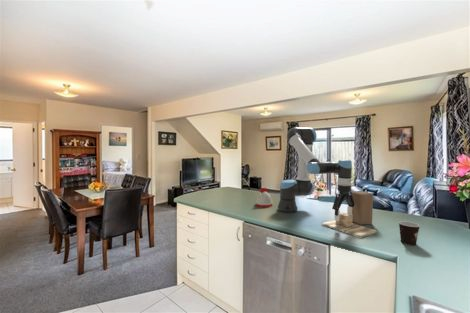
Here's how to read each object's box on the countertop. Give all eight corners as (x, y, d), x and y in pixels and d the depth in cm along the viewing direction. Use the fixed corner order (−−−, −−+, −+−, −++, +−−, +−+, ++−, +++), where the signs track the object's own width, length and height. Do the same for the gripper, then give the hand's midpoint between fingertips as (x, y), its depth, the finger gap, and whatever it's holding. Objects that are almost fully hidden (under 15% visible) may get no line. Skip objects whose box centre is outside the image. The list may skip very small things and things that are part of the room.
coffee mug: (409, 239, 126) (410, 221, 126) (423, 246, 118) (424, 226, 117) (388, 239, 126) (389, 221, 125) (400, 246, 117) (401, 227, 117)
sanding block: (335, 224, 147) (335, 213, 146) (340, 222, 149) (340, 211, 149) (347, 227, 140) (347, 216, 140) (352, 226, 143) (352, 215, 142)
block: (360, 225, 148) (361, 194, 147) (348, 220, 158) (349, 191, 157) (372, 224, 151) (373, 193, 150) (360, 219, 160) (361, 190, 159)
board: (322, 225, 148) (322, 223, 148) (336, 220, 157) (337, 218, 157) (361, 238, 128) (361, 236, 128) (376, 232, 136) (376, 230, 136)
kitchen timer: (253, 203, 202) (253, 186, 201) (266, 202, 207) (266, 185, 207) (261, 207, 189) (261, 189, 188) (275, 206, 195) (275, 188, 194)
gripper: (338, 187, 134) (337, 224, 135) (361, 183, 147) (360, 216, 149) (326, 185, 140) (325, 220, 141) (349, 182, 154) (348, 213, 155)
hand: (343, 218), depth 145 cm, fingers open, 13 cm apart
